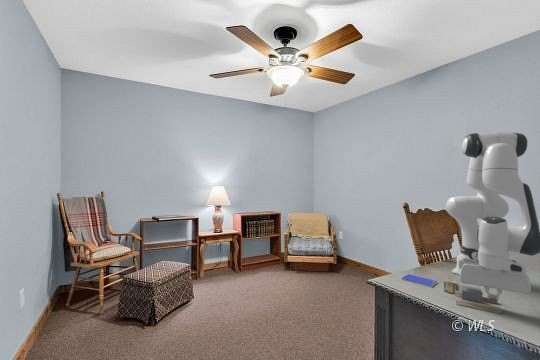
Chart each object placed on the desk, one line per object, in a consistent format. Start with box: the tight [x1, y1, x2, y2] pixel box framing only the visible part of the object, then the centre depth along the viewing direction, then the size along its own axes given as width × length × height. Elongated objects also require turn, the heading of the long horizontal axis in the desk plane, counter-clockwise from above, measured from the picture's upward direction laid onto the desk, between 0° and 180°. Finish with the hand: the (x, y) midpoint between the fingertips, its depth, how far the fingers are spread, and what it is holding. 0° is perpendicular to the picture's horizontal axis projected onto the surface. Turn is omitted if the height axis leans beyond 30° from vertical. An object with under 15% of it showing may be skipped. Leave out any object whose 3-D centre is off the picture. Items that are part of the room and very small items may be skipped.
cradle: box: [443, 279, 502, 314], centre depth 106 cm, size 14×17×4 cm
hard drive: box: [401, 273, 438, 288], centre depth 127 cm, size 2×8×12 cm
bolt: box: [446, 275, 454, 294], centre depth 120 cm, size 14×2×3 cm, turn 146°
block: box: [461, 285, 483, 304], centre depth 105 cm, size 6×6×5 cm
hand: (492, 299), depth 101 cm, fingers closed
